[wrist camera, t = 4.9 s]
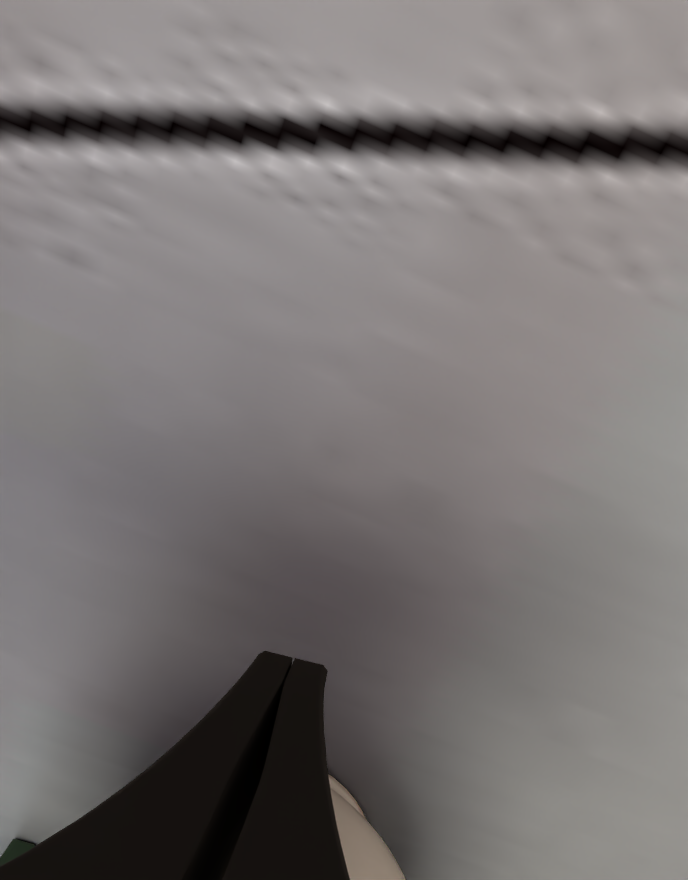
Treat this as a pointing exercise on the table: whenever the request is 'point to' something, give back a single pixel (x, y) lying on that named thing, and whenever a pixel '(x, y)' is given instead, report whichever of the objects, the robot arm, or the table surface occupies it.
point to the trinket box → (361, 840)
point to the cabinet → (15, 850)
